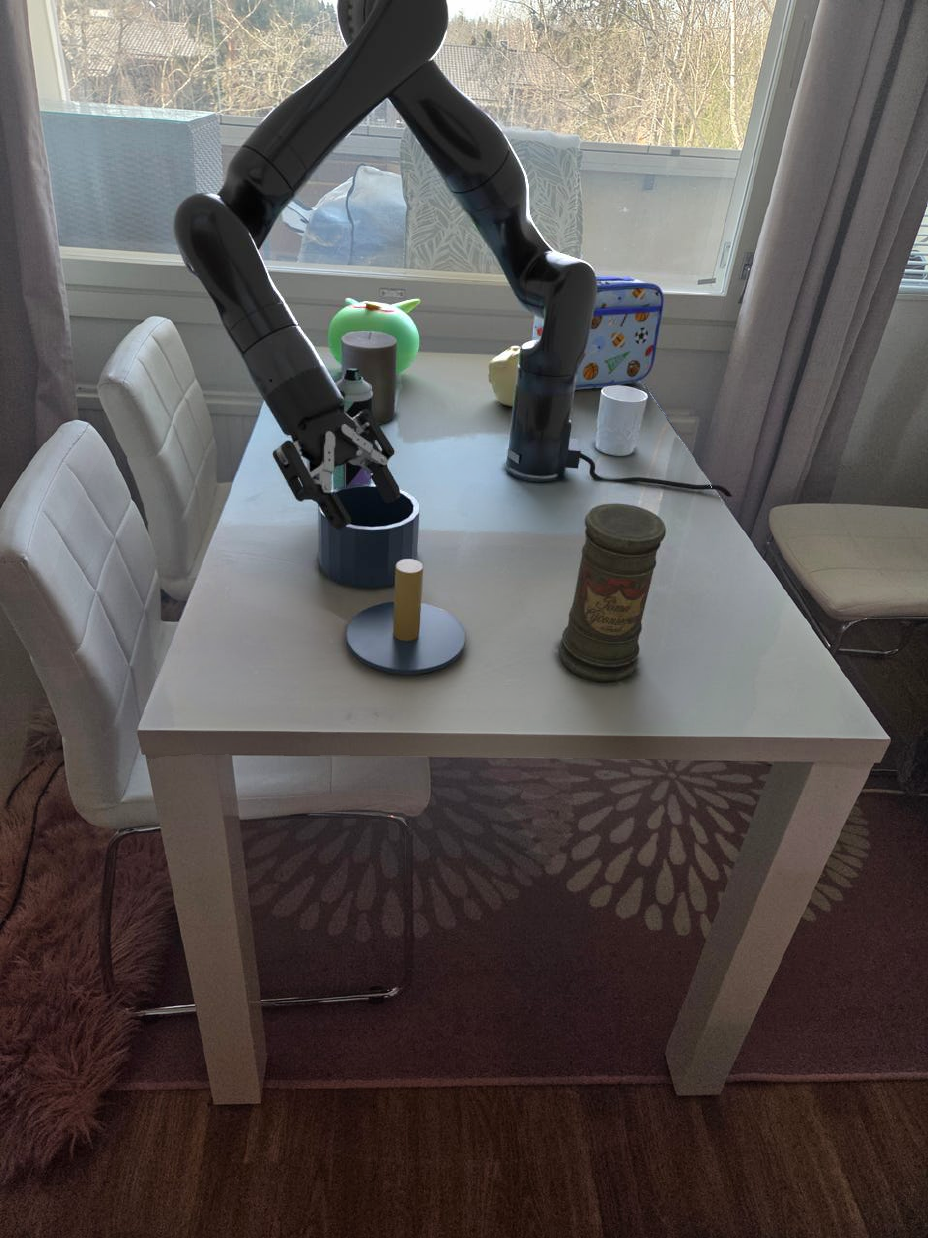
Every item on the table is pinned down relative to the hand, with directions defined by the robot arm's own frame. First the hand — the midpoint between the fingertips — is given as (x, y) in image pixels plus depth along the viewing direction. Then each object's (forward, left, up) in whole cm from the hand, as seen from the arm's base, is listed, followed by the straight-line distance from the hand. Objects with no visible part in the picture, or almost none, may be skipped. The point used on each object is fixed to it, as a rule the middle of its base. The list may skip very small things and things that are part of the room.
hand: (370, 512), depth 95 cm
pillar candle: (+6, -65, -14) cm, 66 cm away
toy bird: (+7, -88, -14) cm, 89 cm away
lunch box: (-37, -92, -14) cm, 100 cm away
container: (-27, +5, -14) cm, 31 cm away
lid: (-5, +4, -13) cm, 15 cm away
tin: (+1, -13, -14) cm, 19 cm away
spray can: (+5, -30, -14) cm, 33 cm away
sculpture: (-22, -77, -14) cm, 81 cm away
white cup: (-38, -58, -14) cm, 70 cm away
